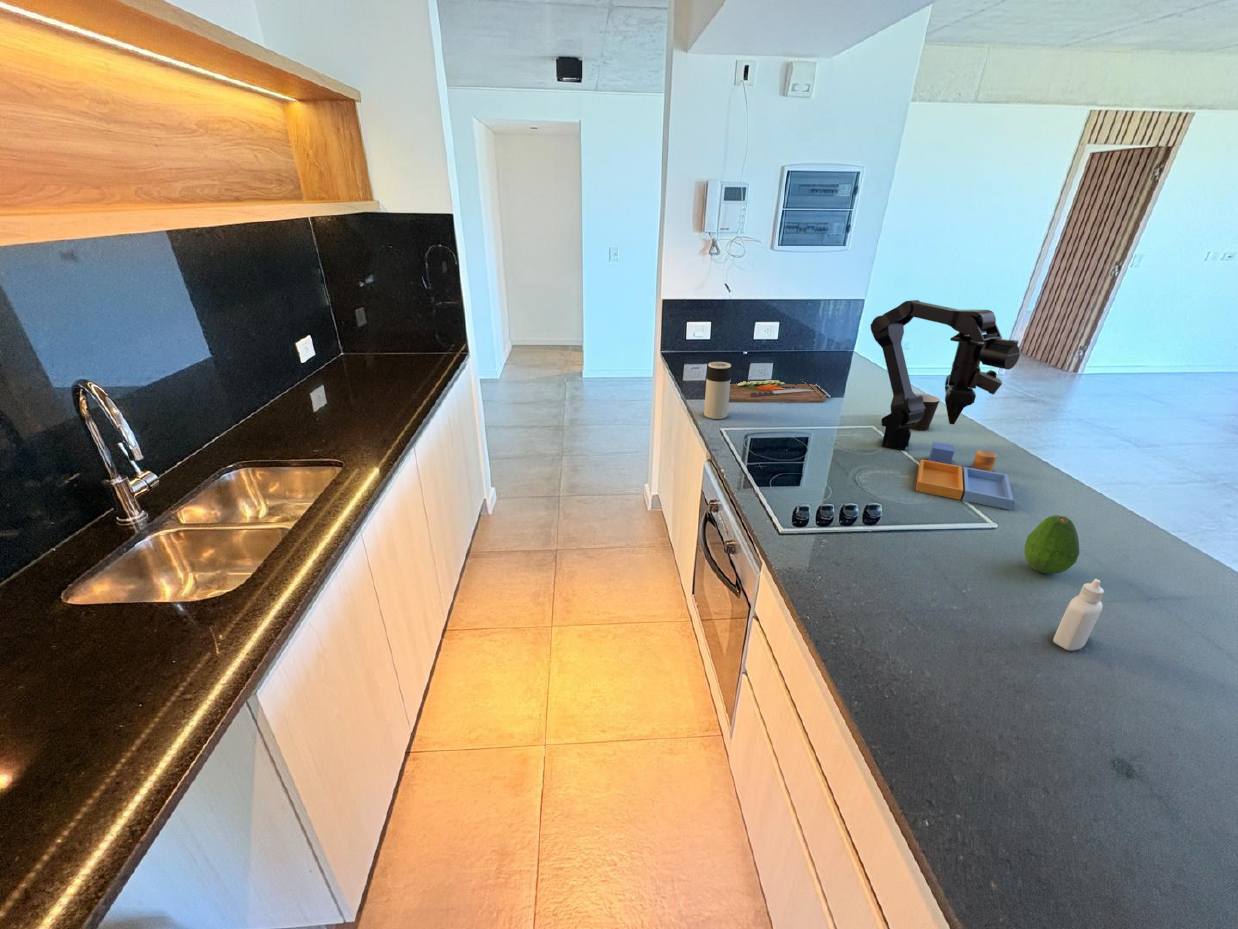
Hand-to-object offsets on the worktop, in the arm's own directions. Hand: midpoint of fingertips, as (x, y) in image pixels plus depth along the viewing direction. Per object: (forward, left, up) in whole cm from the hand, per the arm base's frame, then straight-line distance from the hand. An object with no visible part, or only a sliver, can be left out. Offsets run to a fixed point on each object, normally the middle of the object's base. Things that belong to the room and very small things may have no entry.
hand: (951, 418), depth 141 cm
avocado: (+18, -47, -13) cm, 52 cm away
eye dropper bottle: (+19, -68, -13) cm, 72 cm away
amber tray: (0, -14, -13) cm, 19 cm away
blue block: (0, 0, -13) cm, 13 cm away
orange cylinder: (+10, 0, -13) cm, 16 cm away
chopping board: (-60, +44, -13) cm, 76 cm away
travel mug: (-68, +7, -13) cm, 69 cm away
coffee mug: (-7, +30, -13) cm, 33 cm away
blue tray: (+10, -14, -13) cm, 22 cm away
